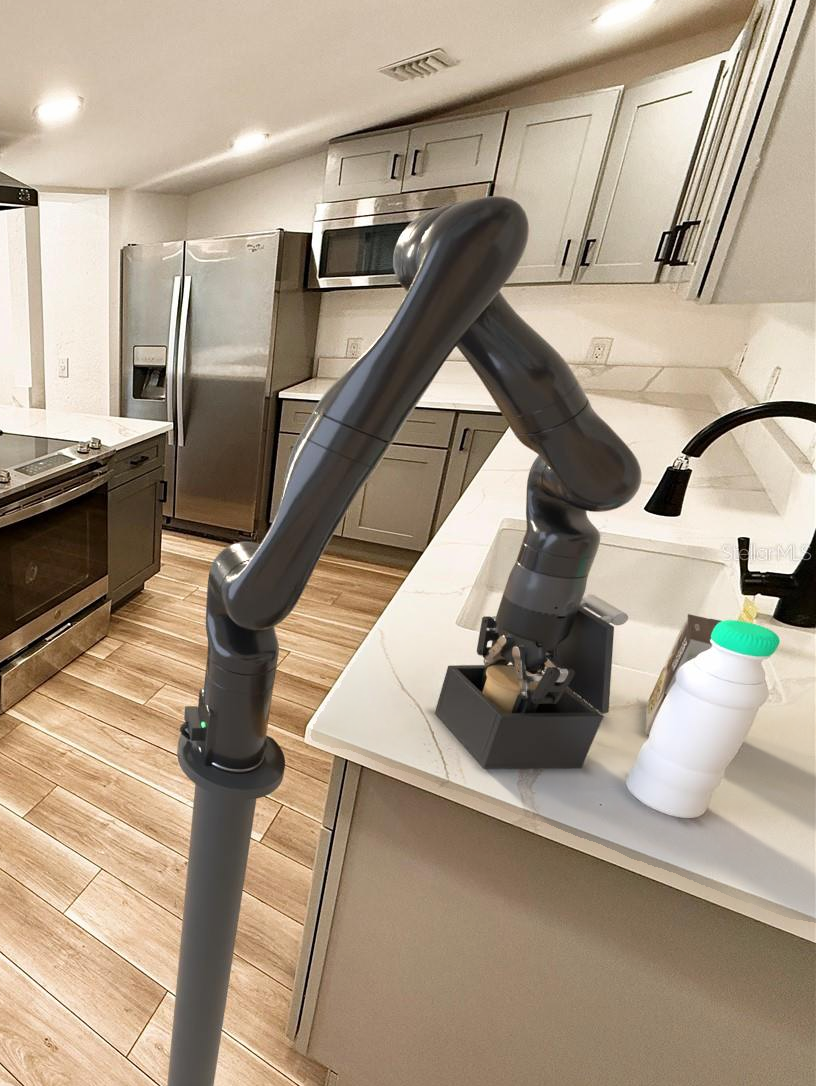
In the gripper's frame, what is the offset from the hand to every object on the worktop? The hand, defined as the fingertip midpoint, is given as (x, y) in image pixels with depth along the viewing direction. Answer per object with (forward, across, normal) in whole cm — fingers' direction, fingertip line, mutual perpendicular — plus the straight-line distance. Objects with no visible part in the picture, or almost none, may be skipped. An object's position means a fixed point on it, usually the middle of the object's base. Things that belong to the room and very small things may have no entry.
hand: (504, 703), depth 85 cm
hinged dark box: (+6, 0, +2) cm, 7 cm away
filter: (+1, 0, 0) cm, 1 cm away
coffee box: (+7, -2, +26) cm, 27 cm away
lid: (-9, 0, +6) cm, 11 cm away
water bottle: (+7, +11, +14) cm, 19 cm away
